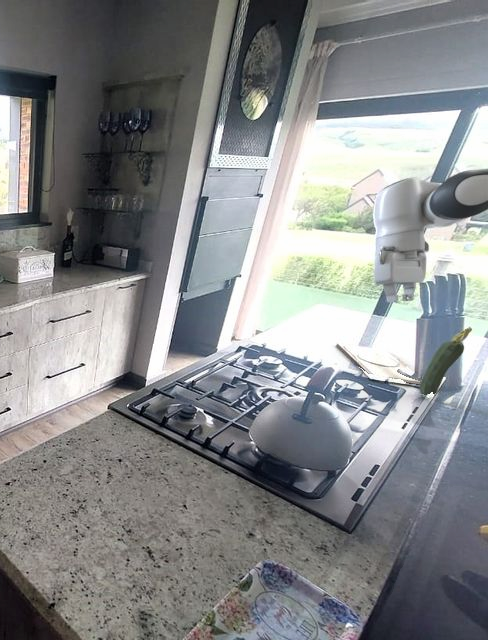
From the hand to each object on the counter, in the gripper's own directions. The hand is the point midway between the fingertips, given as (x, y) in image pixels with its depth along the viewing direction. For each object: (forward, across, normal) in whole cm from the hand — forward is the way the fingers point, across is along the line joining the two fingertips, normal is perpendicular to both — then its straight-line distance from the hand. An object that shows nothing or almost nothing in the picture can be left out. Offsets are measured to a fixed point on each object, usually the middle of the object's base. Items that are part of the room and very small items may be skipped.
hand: (400, 301), depth 103 cm
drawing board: (+18, +21, +12) cm, 31 cm away
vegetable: (+26, +9, -1) cm, 27 cm away
